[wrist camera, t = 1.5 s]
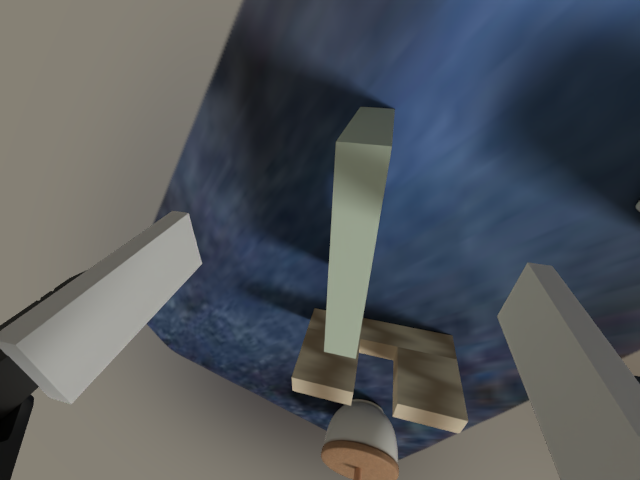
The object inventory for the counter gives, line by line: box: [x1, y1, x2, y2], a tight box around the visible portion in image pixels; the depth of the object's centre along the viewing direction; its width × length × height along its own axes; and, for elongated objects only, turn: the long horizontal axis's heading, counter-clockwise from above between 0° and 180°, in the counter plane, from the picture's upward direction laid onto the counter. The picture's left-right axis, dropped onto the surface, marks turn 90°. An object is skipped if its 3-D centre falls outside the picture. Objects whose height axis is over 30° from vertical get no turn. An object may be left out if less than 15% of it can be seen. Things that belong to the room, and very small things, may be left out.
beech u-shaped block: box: [292, 308, 468, 433], centre depth 30 cm, size 16×2×9 cm, turn 88°
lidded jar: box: [321, 399, 399, 480], centre depth 41 cm, size 11×11×9 cm
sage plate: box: [324, 107, 395, 359], centre depth 21 cm, size 16×2×10 cm, turn 178°
